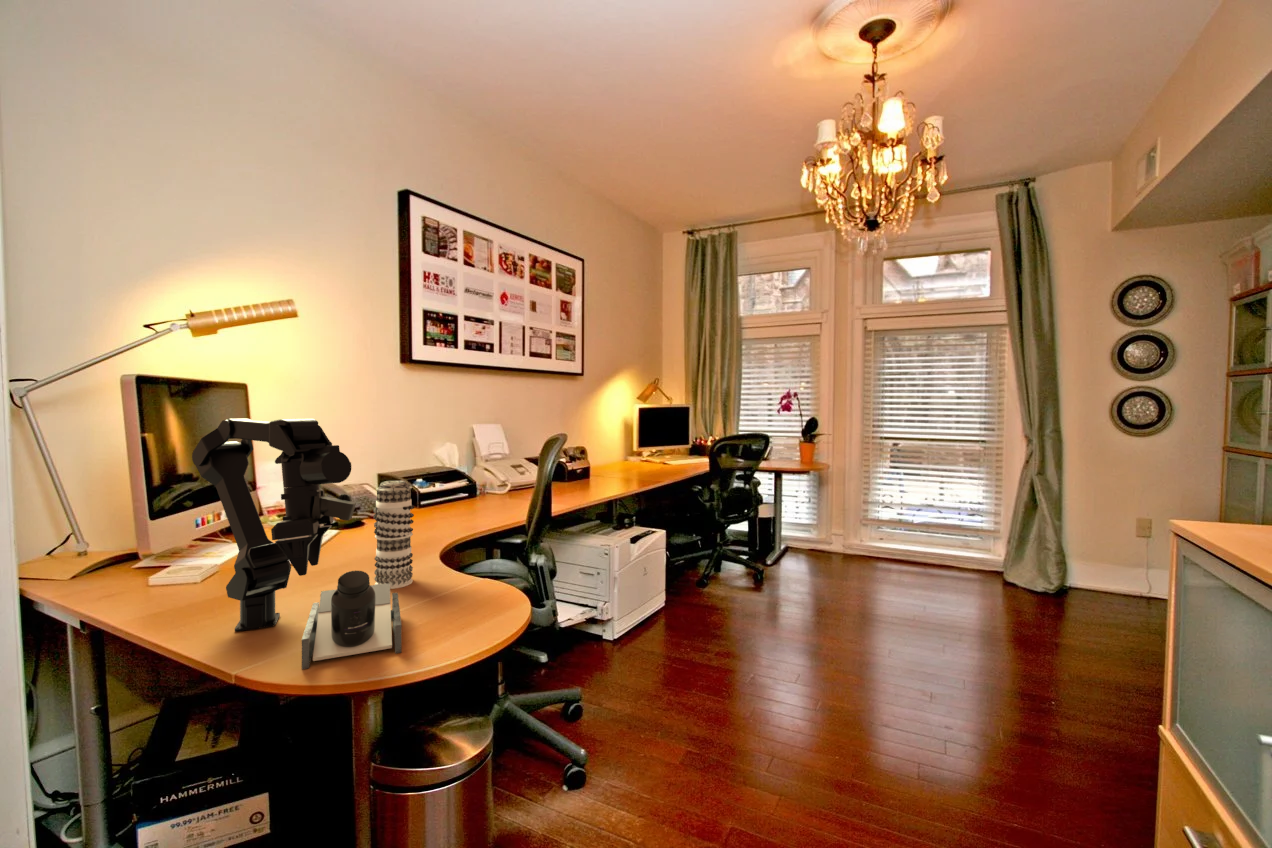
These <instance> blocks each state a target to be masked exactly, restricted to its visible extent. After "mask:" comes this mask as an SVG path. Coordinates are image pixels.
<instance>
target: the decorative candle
mask: <svg viewBox="0 0 1272 848" xmlns="http://www.w3.org/2000/svg"><path fill="white" fill-rule="evenodd" d="M412 488H413V487H412V486H410V485H409V483H408V482H407V481H405V480H386V481H382V482H380V484H379V486H378V487H377V488H375V490H376V501H375V507H373V513H374V515H373V520H375V522H374V523H373V525H374V528H375V529H374V531H373V533H374V534H375V535H374V538H375V539H376V549H375V556H374V561H375V564H374V567H375V570H374V575H375V576H374V578H373V579H374V581H375V583H374V585H379V584H387V583H390V590H392V589H393V590H394V589H400V588H405V587H407V586H409V585H411V584H412V583H413V581H414V580H413V568H414V567H413V565H411V564H413V562H414V561H413V559H412V558H413V553H412V546H411V544H412V543H411V542H412V541H411V539H412V538H411V537H412V536H413V535H414V534H413V532H414V531H413V530H414V528H412V527H411V525H412V524H413V523H414V520H413V519H412V518H413V517H414V516H415V514H414V513H412V512H411V511H412V510H414V509H415V505H413V504H412V500H413V499H412V497H411V496H412V495H411V494H412V492H411V490H412Z"/></svg>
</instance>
